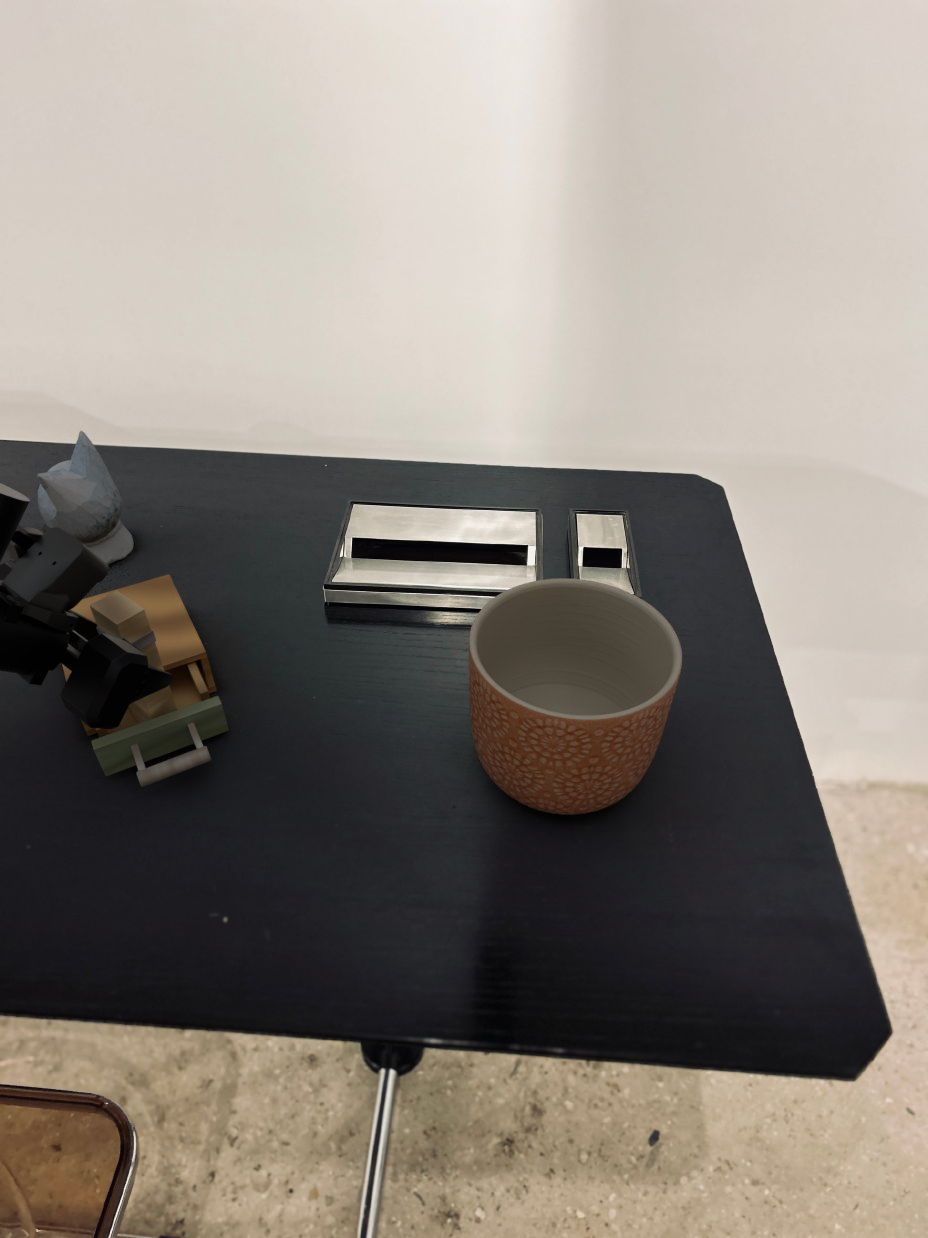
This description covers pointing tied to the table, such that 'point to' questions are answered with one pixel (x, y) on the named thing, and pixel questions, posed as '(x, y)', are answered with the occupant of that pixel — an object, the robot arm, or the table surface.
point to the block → (133, 625)
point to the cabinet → (160, 626)
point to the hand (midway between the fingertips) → (138, 657)
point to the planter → (570, 692)
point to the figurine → (85, 502)
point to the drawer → (165, 732)
